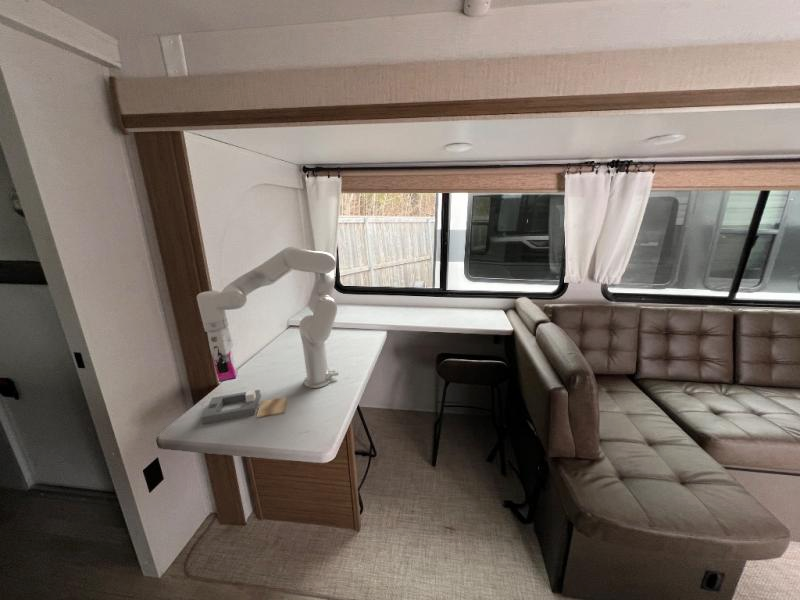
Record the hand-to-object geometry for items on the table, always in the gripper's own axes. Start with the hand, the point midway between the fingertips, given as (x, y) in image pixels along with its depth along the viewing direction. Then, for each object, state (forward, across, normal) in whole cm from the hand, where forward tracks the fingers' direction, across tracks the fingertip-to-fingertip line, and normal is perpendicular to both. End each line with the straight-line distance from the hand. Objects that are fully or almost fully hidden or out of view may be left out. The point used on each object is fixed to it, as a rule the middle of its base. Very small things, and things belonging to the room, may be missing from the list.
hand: (226, 367), depth 113 cm
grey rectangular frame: (+18, 0, +1) cm, 18 cm away
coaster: (+19, -4, -14) cm, 24 cm away
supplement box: (+4, 0, 0) cm, 4 cm away
